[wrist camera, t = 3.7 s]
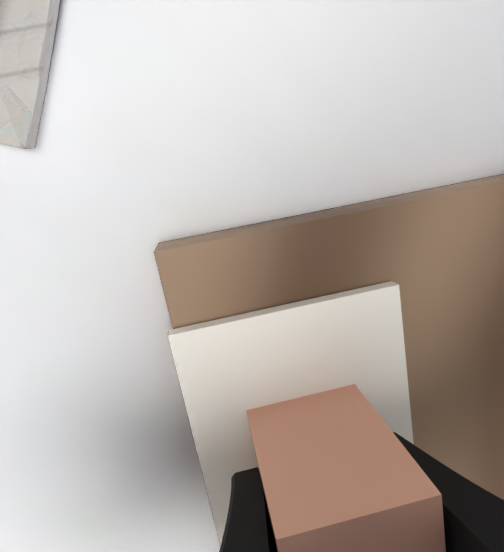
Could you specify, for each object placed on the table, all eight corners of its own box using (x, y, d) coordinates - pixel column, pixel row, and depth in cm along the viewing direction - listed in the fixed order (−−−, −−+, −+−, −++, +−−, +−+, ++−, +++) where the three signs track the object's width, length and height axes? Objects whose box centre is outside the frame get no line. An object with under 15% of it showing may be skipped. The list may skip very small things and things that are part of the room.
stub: (392, 280, 11) (518, 346, 7) (417, 545, 13) (523, 718, 9) (168, 330, 10) (151, 435, 6) (235, 597, 13) (256, 807, 8)
